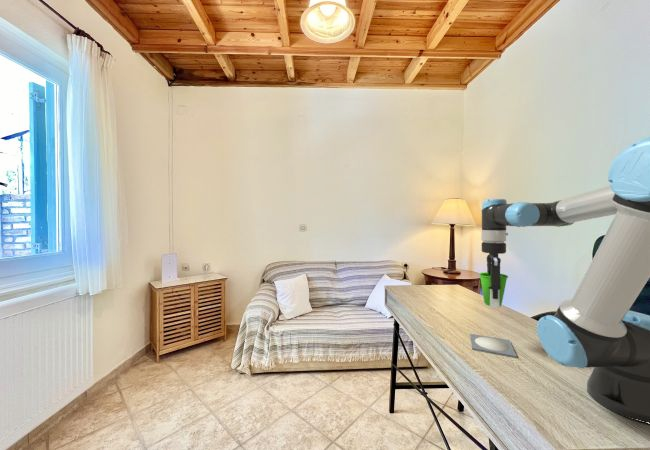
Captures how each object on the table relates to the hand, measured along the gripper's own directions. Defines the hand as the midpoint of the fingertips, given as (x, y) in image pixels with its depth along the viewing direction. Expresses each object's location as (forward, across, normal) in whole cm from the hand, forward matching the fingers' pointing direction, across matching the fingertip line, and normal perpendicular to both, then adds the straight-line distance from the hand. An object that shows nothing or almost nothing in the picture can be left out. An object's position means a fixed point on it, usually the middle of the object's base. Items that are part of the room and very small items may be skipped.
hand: (492, 303), depth 97 cm
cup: (+1, 0, 0) cm, 1 cm away
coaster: (+15, 0, 0) cm, 15 cm away
